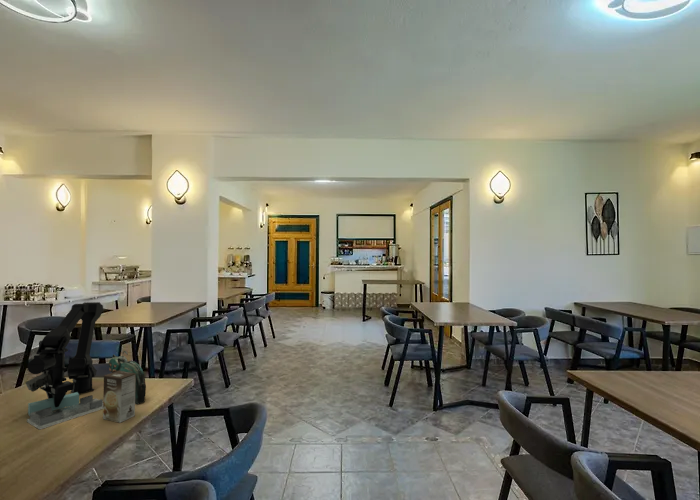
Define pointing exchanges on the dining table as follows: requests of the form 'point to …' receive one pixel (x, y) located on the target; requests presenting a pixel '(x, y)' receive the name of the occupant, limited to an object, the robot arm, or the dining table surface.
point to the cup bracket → (64, 413)
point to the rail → (43, 404)
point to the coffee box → (119, 396)
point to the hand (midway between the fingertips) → (54, 405)
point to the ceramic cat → (132, 367)
